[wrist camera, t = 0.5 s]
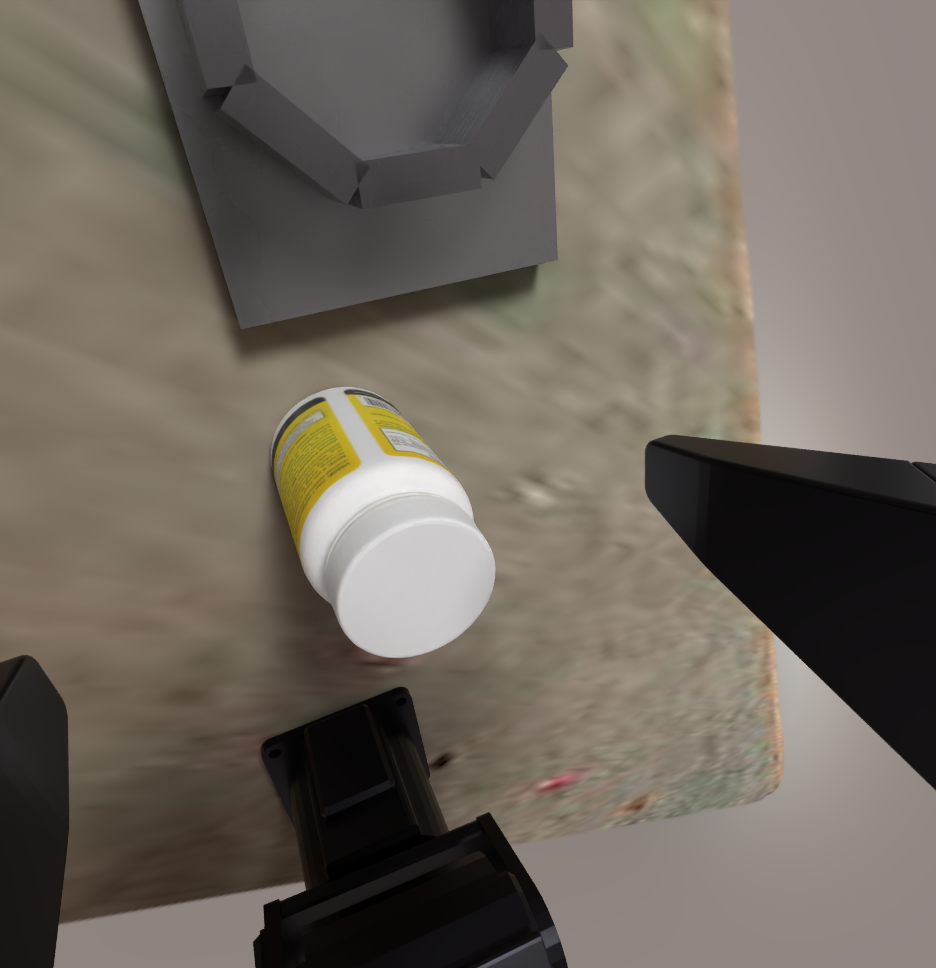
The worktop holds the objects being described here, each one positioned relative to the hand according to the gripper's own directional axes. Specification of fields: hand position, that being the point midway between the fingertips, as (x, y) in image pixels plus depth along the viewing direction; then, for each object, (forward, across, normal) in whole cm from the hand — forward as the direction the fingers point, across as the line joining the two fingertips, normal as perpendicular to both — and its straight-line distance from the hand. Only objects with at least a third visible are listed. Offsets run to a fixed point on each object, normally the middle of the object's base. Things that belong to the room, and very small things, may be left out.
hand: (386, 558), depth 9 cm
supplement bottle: (+13, -1, +4) cm, 13 cm away
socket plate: (+12, -4, -7) cm, 15 cm away
